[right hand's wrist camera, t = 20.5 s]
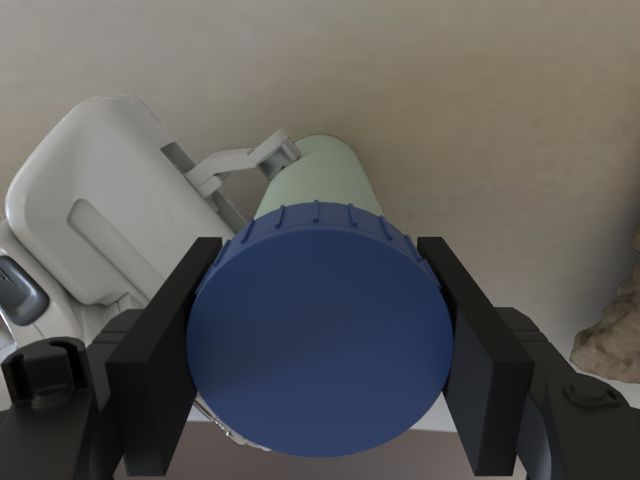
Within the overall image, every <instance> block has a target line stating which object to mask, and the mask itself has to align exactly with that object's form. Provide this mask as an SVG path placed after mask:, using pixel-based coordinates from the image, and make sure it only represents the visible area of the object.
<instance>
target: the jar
mask: <svg viewBox="0 0 640 480" xmlns="http://www.w3.org/2000/svg"><path fill="white" fill-rule="evenodd" d="M294 144H295V145H296V147H297V148H298V149H299V151H300V152H301V153H300V156H299V157H298V158H297V159H296V160H295V161H294V162H293V163H292V164H290V165H288V166H283V167H282V169H281V171H280V172H279V173H278V174H277V175H276V176H275V177H273V178H272V180H271V182H270V184H269V187H268V189H267V191H266V193H265V195H264V197H263V200H262V202H261V204H260V206H259V208H258V210H257V213H256V215H255V217H254V220H256V219H257V218H259V217H261V216H263V215H265V214H267V213H269V212H271V211H274V210H277V209H279V208H280V206H281V205H284V206H285V207H286V206H289V205H295V204H300V203H308V202H314V200H318V202H332V203H340V204H345V205H348V204H349V203H351V204H353V206H354V207H357V208H360V209H363V210H366V211H368V212H370V213H372V214H374V215H377V216H379V217H380V215H382V216H384V218H385V215H384V213H383V211H382V209H381V207H380V205H379V202H378V200H377V198H376V196H375V194H374V191H373V189H372V187H371V185H370V183H369V180H368V178H367V176H366V174H365V172H364V169H363V167H362V165H361V163H360V161H359V159H358V157H357V155H356V154H355V152H354V151H353V150H352V149H351V147H350V146H348V145H347V144H346V143H345V142H343V141H341V140H340V139H337V138H335V137H332V136H328V135H312V136H308V137H305V138H302V139H300V140H298V141H297V142H295V143H294ZM385 220H386V218H385ZM386 221H387V220H386Z"/></svg>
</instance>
